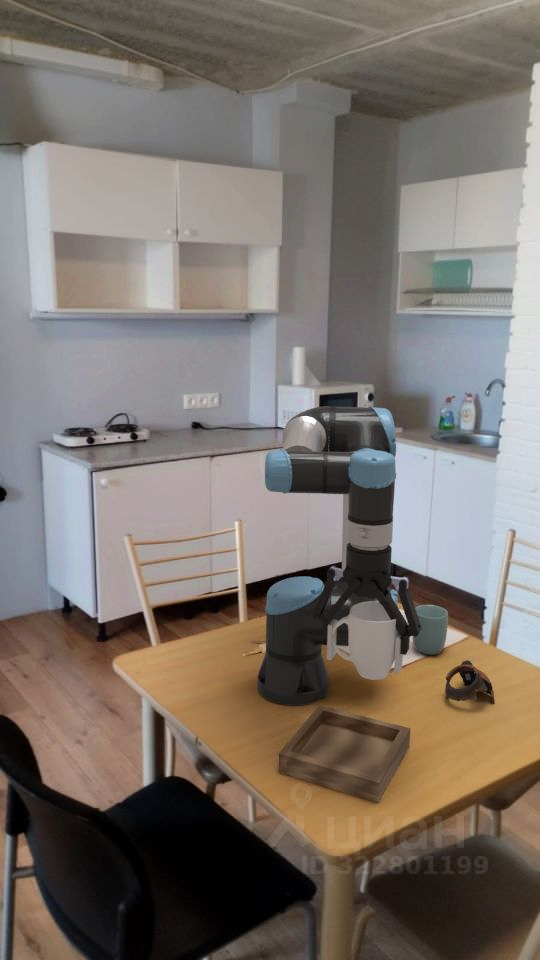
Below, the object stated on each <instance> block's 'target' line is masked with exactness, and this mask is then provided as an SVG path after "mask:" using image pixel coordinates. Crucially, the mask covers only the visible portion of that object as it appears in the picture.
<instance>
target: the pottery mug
mask: <svg viewBox="0 0 540 960" xmlns="http://www.w3.org/2000/svg"><path fill="white" fill-rule="evenodd" d="M458 673H459V675H460V678H461V680H462V683H463V686H464V687H461V688H456V687H453V686H452V685H451V684H450V682H451V680H452V678H453V677H454V676H455V675H457V674H458ZM445 680H446V683H445V688H444V692H445V698H446V699H447V700H448V699H450V700H453V701H456V702H461V701H463V702H464V701H468V700H473V701H478V699H477V693H476V692H477V691H478V692H479V693H485V694H488V695H489V696H490V698H491V703H492V704H495V702H496V701H495V693H494V692H495V691H494V689H493V685H492V682H491V681H490V678H489V677H488V676H487V675H486V673H484V672H483V671H482V670H480V669H478V668H477V667H475V666H474V665H473V663H472V661H471V660H468V659H466V660H464V661H463V660H462V662H461V664H460V665H458V666H457V665H456V666H454V667H453V668H452V669H450V671H449V672H448V673H447V674H446V676H445Z"/></svg>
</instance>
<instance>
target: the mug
mask: <svg viewBox="0 0 540 960" xmlns="http://www.w3.org/2000/svg"><path fill="white" fill-rule="evenodd" d="M399 610H400V612H401V613H402V610H401V609H400V608H399ZM402 614H403V613H402ZM343 623H346V624H347V625H348V645H349V646H348V651H349V654H347V653H345V652H343V651H342V650H341V649H339V647H338V646H336V645H335V643H334V641H333V634H334V631H335V630H336V628H337V627H338V626H340V625H341V624H343ZM395 625H396V619H393V620H391V619H390V617H389V616H388V614H387V612H386V611H385V609H384V607H383V606H382V605H381V604H380V603H379V602H362V603H358V604H356V605H354V606H352V607H351V609H350V613H349V615H348V616H346V617H343V618H342V619H340V620H339V621H338V622H337V623H336V624H335V626H334V628H333V632H332V643H333V646H334V649H335V651H336V654H338V656H339V657H341V658H343V659H344V660H346V661H349V662H352V663H353V665H354V666H355V668H356V670H357V673H358V675H359V676H360V677H361V678H363V679H366V680H371V681H377V680H378V681H379V680H383V679H386V677H387V676H388V675H389V672H390V670H391V669H392V666H393V664H394V663H395V644H396V637H397V635H398V634H399V632H398V631H397V629H396V627H395Z"/></svg>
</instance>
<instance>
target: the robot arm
mask: <svg viewBox="0 0 540 960" xmlns="http://www.w3.org/2000/svg"><path fill="white" fill-rule="evenodd" d="M281 435H282V444H283V446H282V448H281V449H279V450H277V449H276V450H270V451H268V452H267V453H266V455H265V461H264V462H265V464H264V485H265V488H266V490H267V491H269V492H272V493H273V492H274V493H282V494H289V493H290V494H323V495H325V494H326V495H343V497H342V536H341V537H342V539H341V541H342V545H341V548H342V549H341V568H339V567H338V566H337V565H334V564H333V565H332V566H330V568H329V569H328V570H327V572H326V582H325V584H324V582H323V581H322V580H321V579H320V578H318V577H312V576H293V577H288V578H285V579H282V580H279V581H278V582H275V583H274V584H273V585H271V586H270V588H269V589H268V590H267V593H266V604H265V608H264V611H265V614H266V619H265V620H266V623H265V626H266V627H265V629H266V630H265V653H264V657H263V659H262V663H261V665H260V668H259V670H258V673H257V679H256V680H257V681H256V687H257V688H256V689H257V691H258V693H259V694H260V695H261V697H263V698H265V699H266V700H268V701H270V702H273V703H276V704H279V705H280V704H281V705H286V706H287V705H288V706H305V705H310V704H312V703H313V704H314V703H316V702H318V701H320V700H322V699H324V698H325V697H326V696H327V695H328V693H329V690H330V677H329V673H328V670H327V667H326V664H325V661H324V657H323V654H322V653H323V652H322V650H323V648H322V647H323V646H326V660H328V661H332V660H333V658H334V657H335V656H336V655H337V652H336V651H335V649H334V646H333V643H332V632H333V628H334V626H335V624H336V623H337V622H338V621H339V620H340V619H342V618H343V617H346V616H348V615H349V613H350V609H351V607H352V606H354V605H356V604H358V603H362V602H379V603H380V604H381V605H382V606H383V607H384V609H385V611H386V612H387V614H388V616H389V617H390V619H391V620H393V619H396V625H395V627H396V629H397V631H398V632H399V634H398V635H397V637H396V644H395V660H394V662H393V664H394V666H393V667H394V668H393V674H397V675H399V674H400V671H401V670H402V668H403V658H404V657H403V656H406V655H407V654H408V652H409V650H410V641H411V639H410V638H411V637H413V636H414V637H416V636H418V634H419V632H420V631H421V624H420V621H419V618H418V615H417V612H416V609H415V608H416V606H415V603H414V600H413V597H412V594H411V591H410V578H409V576H408V575H404V576H402V577H399V576H393V574H392V571H391V570H392V569H391V568H392V553H393V552H392V551H393V550H392V542H393V533H394V532H393V529H394V528H393V527H394V502H395V485H396V479H397V472H396V456H397V455H396V454H397V440H396V439H397V438H396V436H397V435H396V427H395V422H394V417H393V414H392V413H391V411H390V410H389V409H387V408H384V407H374V406H368V407H363V406H329V405H327V406H326V405H325V406H317V407H313V408H309V409H306V410H304V411H301V412H299V413H298V414H297V415H296V414H295V416H293V417H292V418H290V419H289V420H288V422H287V423H286V424H285V426H284V428H283V431H282V434H281ZM391 585H393V586H394V588H395V589H393V588H392V589H391ZM398 597H399V599H400V604H401V606H402V610H403V612H404V615H405V616H404V615H403V613H401V612H402V611H401V612H400V610H401V609H400V608H399V607H398ZM399 609H400V610H399ZM333 641H334V643H335V645H336V646H337V647H339V646H340V647H349V645H348V625H347V624H346V623H343V624H341V625H340V626H338V627H337V628H336V630H335V631H334V634H333Z"/></svg>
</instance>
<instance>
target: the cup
mask: <svg viewBox="0 0 540 960" xmlns="http://www.w3.org/2000/svg"><path fill="white" fill-rule="evenodd" d="M415 609H416V612H417V615H418V618H419V621H420V624H421V631H420V632H419V634H418V636H416V637H414V636H412V643H413V646H414V649H415V650H417V652H419V653H420V654H422V655H423V654H424V655H427V656H433V655H437V654H439V653H441V652H442V650H443V649H444V647H445V645H446V640H447V636H448V625H449V623H448V622H449V611H448V610H447V609H445V608H444V607H441V606H440V605H439V606H438V605H434V604H420V605H417V606H415Z"/></svg>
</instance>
